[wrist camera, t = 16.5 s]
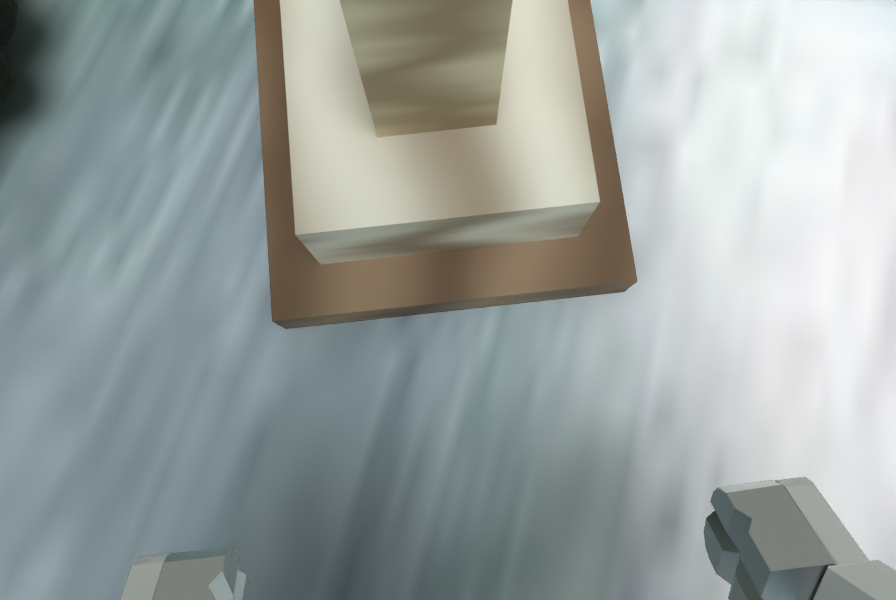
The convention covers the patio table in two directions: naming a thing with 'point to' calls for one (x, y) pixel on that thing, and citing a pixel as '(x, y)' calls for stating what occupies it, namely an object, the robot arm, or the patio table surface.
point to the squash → (3, 20)
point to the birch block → (429, 61)
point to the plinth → (444, 271)
